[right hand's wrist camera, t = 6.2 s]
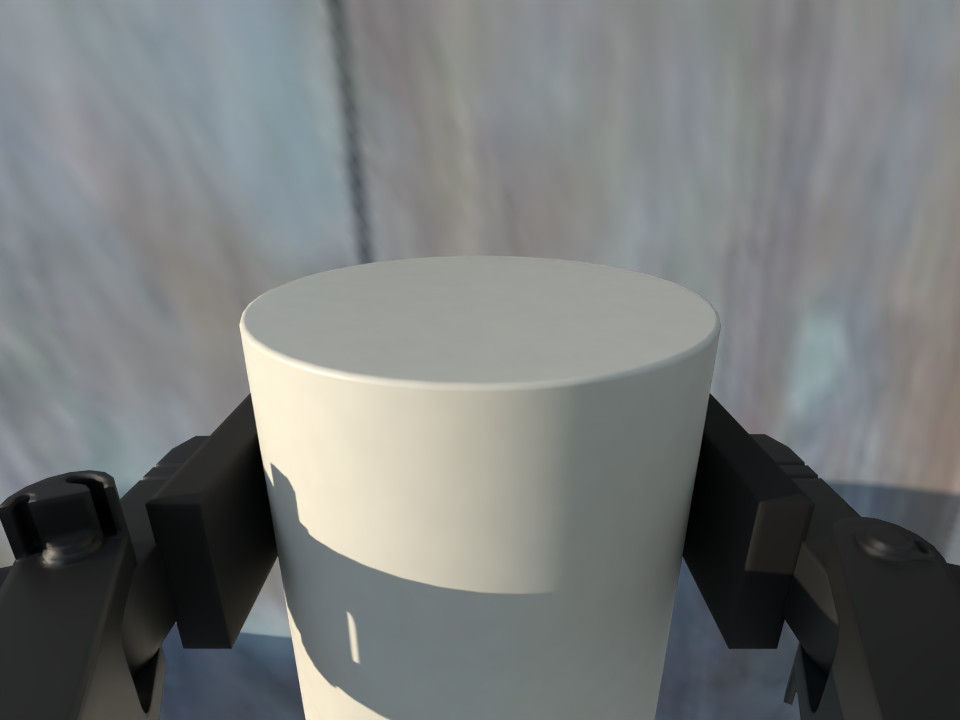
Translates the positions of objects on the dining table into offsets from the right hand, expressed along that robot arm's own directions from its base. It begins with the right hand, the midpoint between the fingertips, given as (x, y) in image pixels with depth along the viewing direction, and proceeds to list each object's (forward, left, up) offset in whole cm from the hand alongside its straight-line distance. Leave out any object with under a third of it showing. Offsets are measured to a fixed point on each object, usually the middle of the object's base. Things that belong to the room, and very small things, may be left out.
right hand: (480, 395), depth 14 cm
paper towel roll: (+5, +9, 0) cm, 10 cm away
